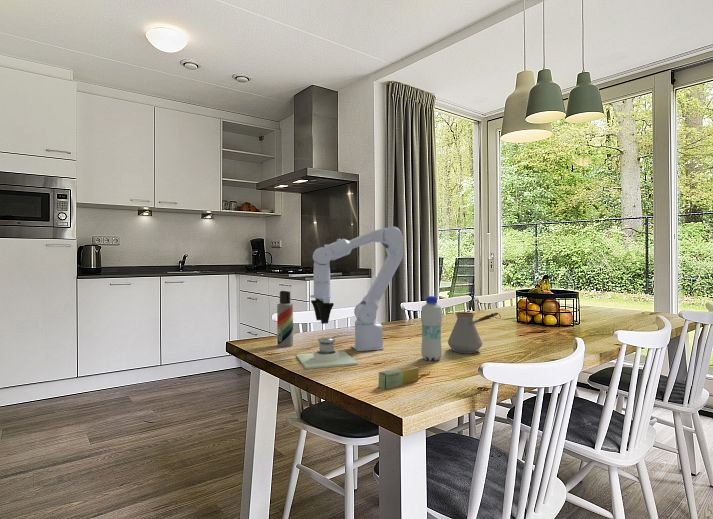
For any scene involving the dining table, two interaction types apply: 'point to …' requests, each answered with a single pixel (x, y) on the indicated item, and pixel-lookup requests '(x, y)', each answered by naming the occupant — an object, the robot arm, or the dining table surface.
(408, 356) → the dining table surface
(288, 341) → the lotion bottle
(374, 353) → the dining table surface
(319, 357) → the duct flange
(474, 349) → the coffee pot
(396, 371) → the medication box
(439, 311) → the bottle
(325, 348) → the silver canister
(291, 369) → the dining table surface
